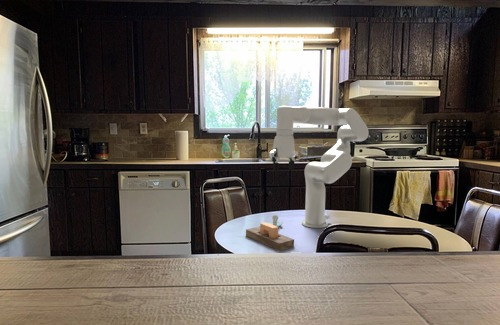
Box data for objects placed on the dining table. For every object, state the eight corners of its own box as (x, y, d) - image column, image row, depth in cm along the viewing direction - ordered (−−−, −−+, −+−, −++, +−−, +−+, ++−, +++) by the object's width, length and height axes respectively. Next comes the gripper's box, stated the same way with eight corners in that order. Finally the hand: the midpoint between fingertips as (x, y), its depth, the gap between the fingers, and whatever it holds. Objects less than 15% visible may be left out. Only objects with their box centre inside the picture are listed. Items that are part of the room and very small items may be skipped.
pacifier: (266, 225, 166) (267, 228, 160) (267, 212, 165) (268, 215, 159) (281, 225, 166) (283, 228, 160) (281, 212, 166) (283, 215, 160)
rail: (259, 232, 152) (260, 226, 152) (293, 246, 134) (294, 239, 134) (245, 236, 147) (245, 229, 147) (279, 250, 130) (279, 243, 129)
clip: (265, 237, 145) (265, 222, 144) (278, 243, 138) (278, 226, 138) (259, 239, 143) (260, 223, 143) (272, 244, 137) (272, 228, 136)
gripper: (292, 133, 160) (291, 168, 162) (264, 133, 150) (264, 171, 151) (303, 133, 154) (302, 170, 156) (275, 133, 144) (274, 172, 145)
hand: (283, 170), depth 153 cm, fingers open, 9 cm apart
